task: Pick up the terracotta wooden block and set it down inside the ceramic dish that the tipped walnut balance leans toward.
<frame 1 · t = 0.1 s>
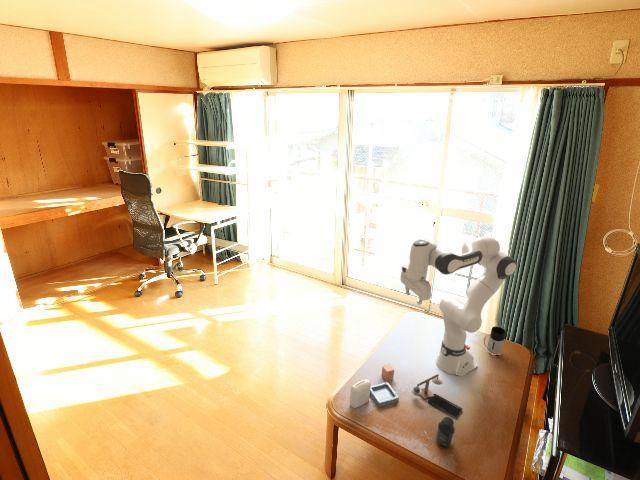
hand: (413, 299, 179), 48 cm above the table, fingers open, 8 cm apart
tipped balance: (425, 394, 186), on the table
phone: (444, 407, 179), on the table
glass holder: (490, 352, 218), on the table
dish: (382, 395, 184), on the table
photo printer: (359, 402, 179), on the table
terracotta block: (387, 377, 196), on the table
supplement bottle: (443, 442, 160), on the table
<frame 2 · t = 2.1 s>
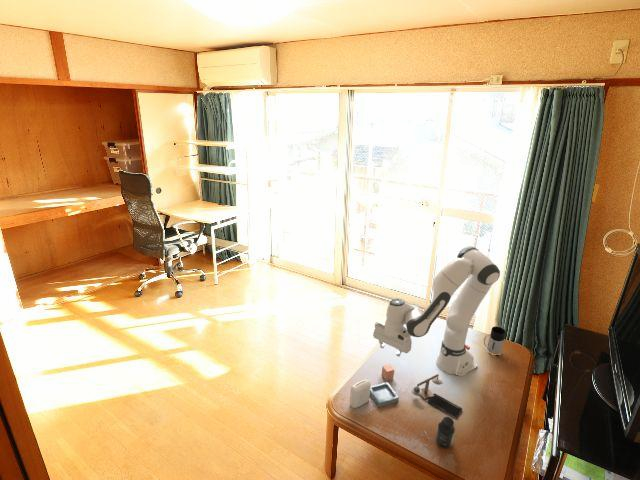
hand: (390, 351, 190), 17 cm above the table, fingers open, 8 cm apart
nothing on the table moved.
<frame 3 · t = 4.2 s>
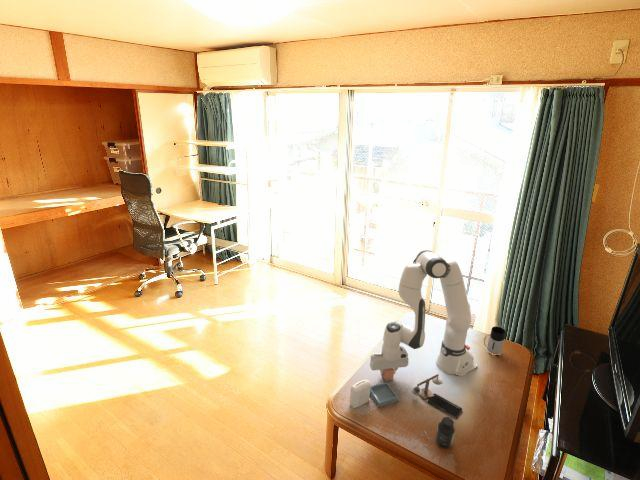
hand: (387, 373, 196), 2 cm above the table, fingers closed on terracotta block, 5 cm apart
terracotta block: (387, 377, 196), on the table, touching gripper
everything else where it was.
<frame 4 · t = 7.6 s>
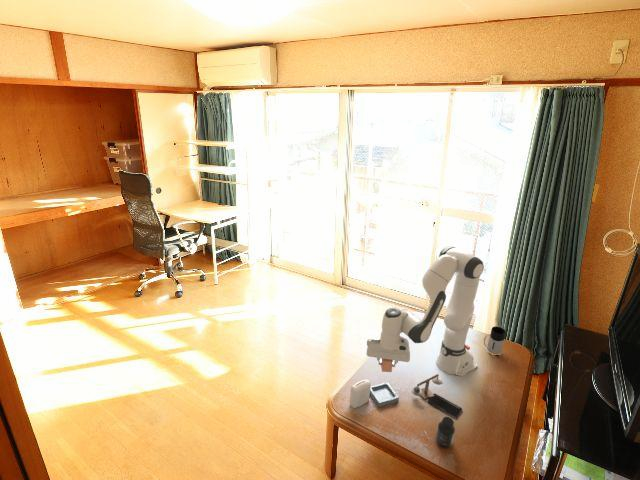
hand: (386, 365, 177), 19 cm above the table, fingers closed on terracotta block, 5 cm apart
terracotta block: (386, 368, 178), point 17 cm above the table, touching gripper
everything else where it was.
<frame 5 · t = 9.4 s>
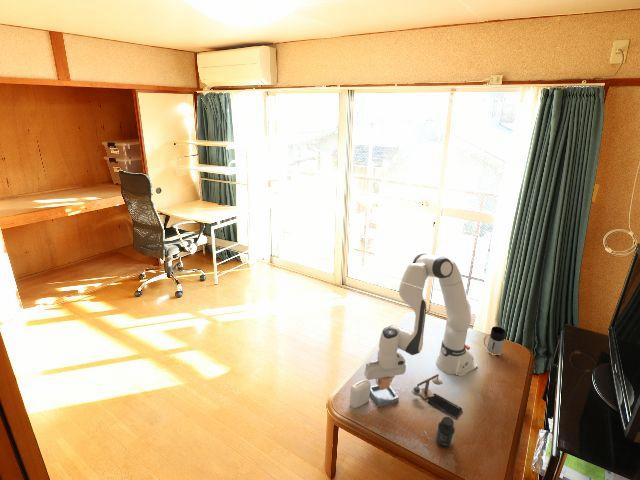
hand: (383, 382, 181), 8 cm above the table, fingers closed on terracotta block, 5 cm apart
terracotta block: (383, 385, 182), point 6 cm above the table, touching gripper
everything else where it was.
when the fingers open (5 cm above the table, at t = 11.0 s): terracotta block drops 1 cm, resting on dish.
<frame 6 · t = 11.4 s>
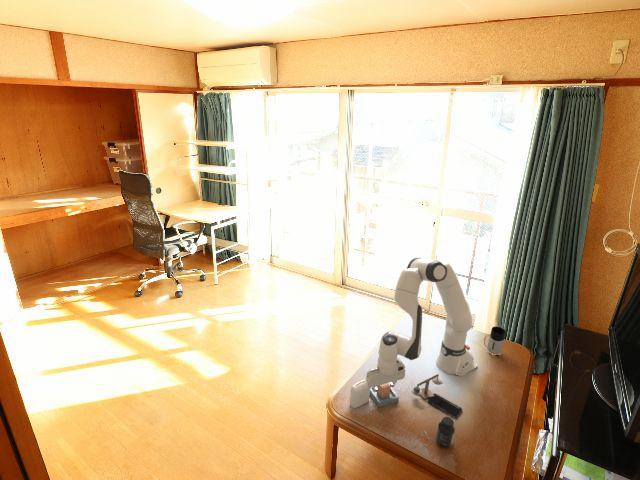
hand: (383, 388, 182), 5 cm above the table, fingers open, 8 cm apart
terracotta block: (383, 394, 184), point 1 cm above the table, touching dish
everything else where it was.
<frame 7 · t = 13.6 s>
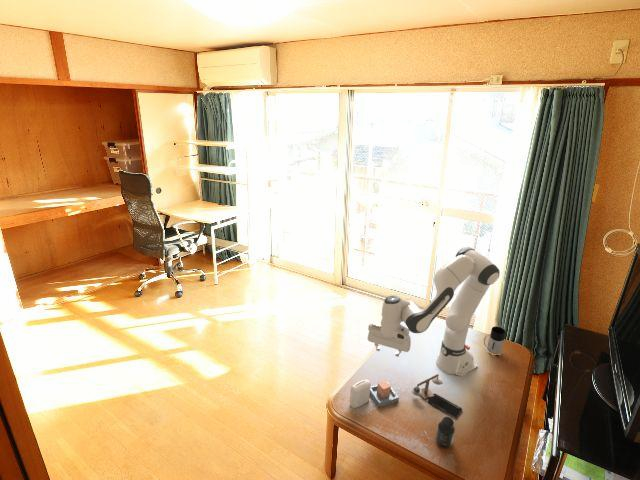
hand: (387, 353, 178), 24 cm above the table, fingers open, 8 cm apart
nothing on the table moved.
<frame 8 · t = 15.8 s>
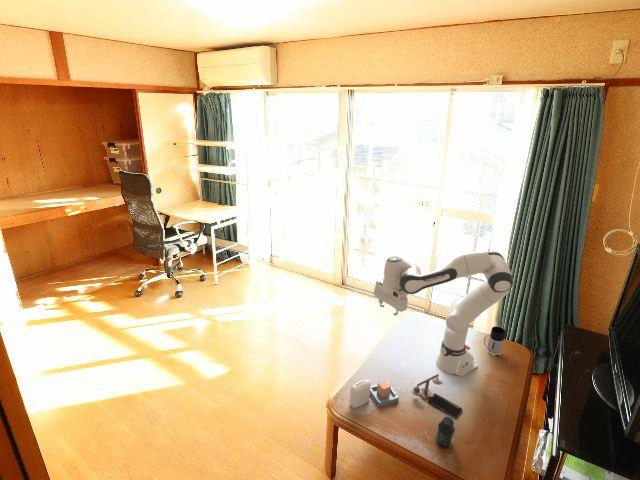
hand: (388, 310, 192), 35 cm above the table, fingers open, 8 cm apart
nothing on the table moved.
at the end: terracotta block 0.1 cm off-centre on the dish, point 1.0 cm above the dish's base; terracotta block tilted 0°; the gripper is holding nothing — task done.
